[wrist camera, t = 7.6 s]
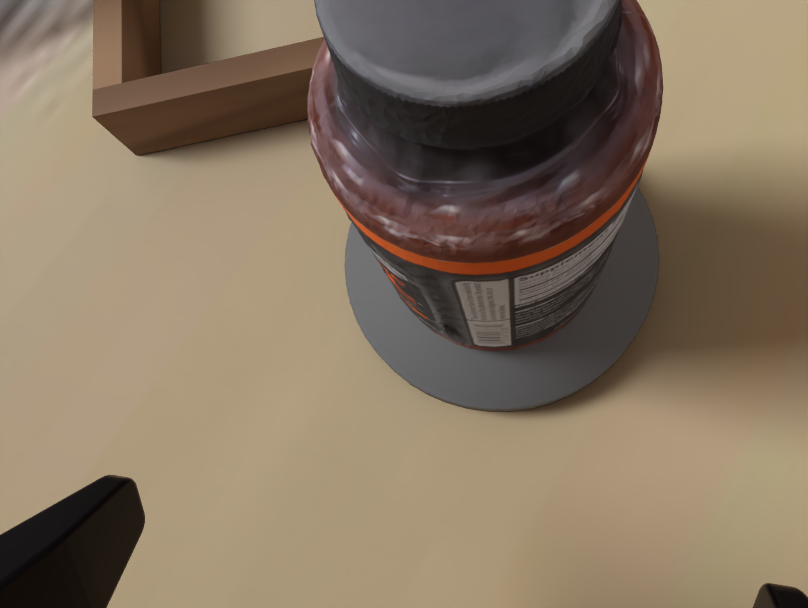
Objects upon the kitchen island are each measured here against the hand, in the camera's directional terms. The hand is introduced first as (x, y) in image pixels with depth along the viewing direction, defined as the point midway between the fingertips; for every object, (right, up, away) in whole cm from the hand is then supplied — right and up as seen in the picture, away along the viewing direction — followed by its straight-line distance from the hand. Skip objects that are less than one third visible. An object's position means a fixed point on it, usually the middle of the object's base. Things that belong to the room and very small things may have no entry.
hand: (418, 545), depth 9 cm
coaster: (+3, +5, +10) cm, 12 cm away
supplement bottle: (+2, +5, +10) cm, 11 cm away
